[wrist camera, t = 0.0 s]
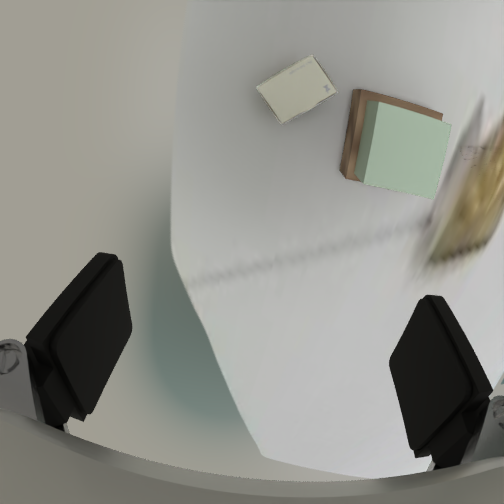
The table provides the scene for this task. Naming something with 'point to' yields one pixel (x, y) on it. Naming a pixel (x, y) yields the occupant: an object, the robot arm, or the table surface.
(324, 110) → the table surface
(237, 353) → the table surface
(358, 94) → the tower base block
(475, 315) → the table surface
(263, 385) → the table surface
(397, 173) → the tower top block
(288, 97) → the skincare box
